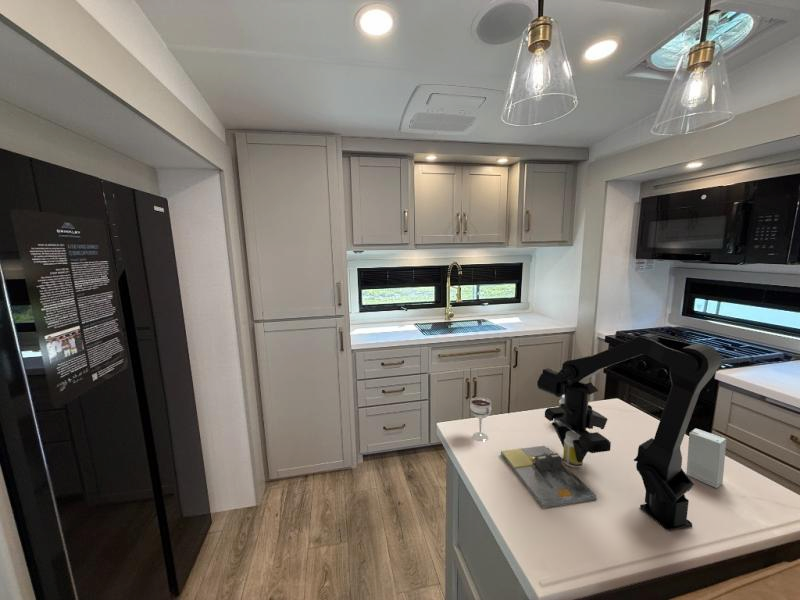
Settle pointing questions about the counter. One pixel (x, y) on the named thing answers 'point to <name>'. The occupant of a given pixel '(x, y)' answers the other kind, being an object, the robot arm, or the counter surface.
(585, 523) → the counter surface
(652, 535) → the counter surface
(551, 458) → the toggle
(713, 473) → the skincare box
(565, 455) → the supplement bottle
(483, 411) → the wineglass
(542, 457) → the toggle
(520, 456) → the pad
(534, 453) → the breaker panel
